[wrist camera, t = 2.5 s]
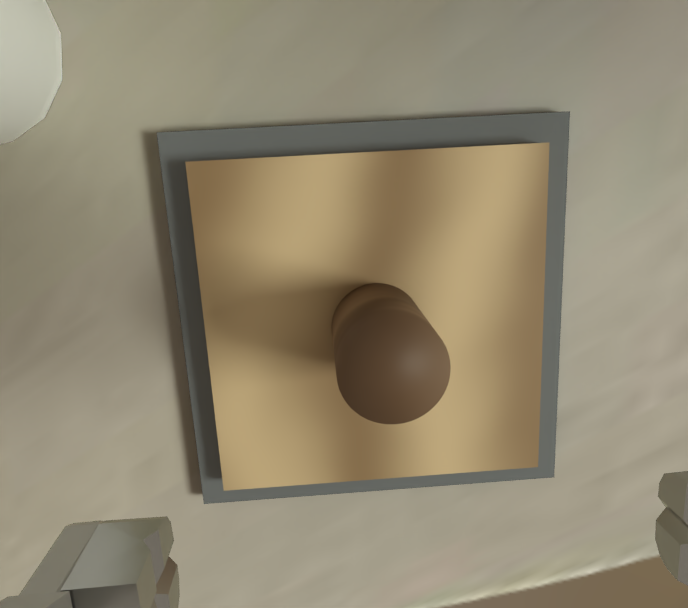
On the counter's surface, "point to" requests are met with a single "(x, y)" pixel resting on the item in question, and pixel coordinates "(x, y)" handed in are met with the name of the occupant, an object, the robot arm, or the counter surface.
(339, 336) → the lid
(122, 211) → the counter surface
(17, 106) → the foam cup
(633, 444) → the counter surface
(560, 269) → the mat
